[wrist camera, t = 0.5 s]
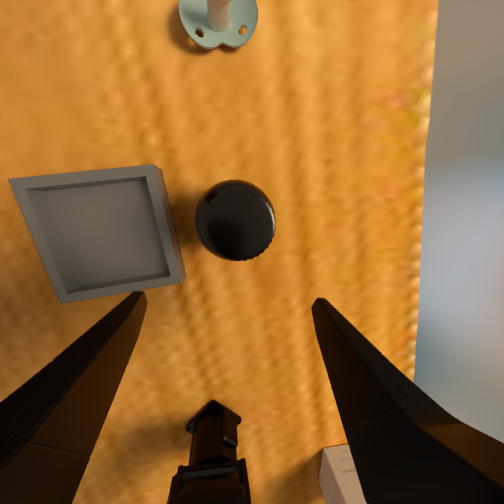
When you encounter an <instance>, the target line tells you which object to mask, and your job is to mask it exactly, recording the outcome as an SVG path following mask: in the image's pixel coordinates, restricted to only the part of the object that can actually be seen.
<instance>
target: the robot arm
mask: <svg viewBox="0 0 504 504" xmlns="http://www.w3.org/2000/svg"><path fill="white" fill-rule="evenodd" d="M146 308H147V299H146V296H145V293H144V292H143V291H134V292H132V293H131V294H130V295H129V296H128V297H126V298H125V299H124V300H123V301H122V302H121V303H119V304H118V305H117V306H116V307H115V308H113V309H112V310H111V311H110V312H109V313H108V314H106V315H105V316H104V317H103V318H102V319H100V320H99V321H98V322H97V323H96V324H95V325H93V326H92V327H91V328H90V329H89V330H88V331H86V332H85V333H84V334H83V335H82V336H80V337H79V338H78V339H77V340H76V341H75V342H73V343H72V344H71V345H70V346H69V347H67V348H66V349H65V350H64V351H63V352H62V353H60V354H59V355H58V356H57V357H56V358H54V359H53V361H52V362H50V363H48V364H47V365H46V366H45V367H44V368H43V369H41V370H40V371H39V372H38V373H37V374H35V375H34V376H33V377H32V378H30V379H29V380H28V381H27V382H26V383H24V384H23V385H22V386H21V387H19V388H18V389H17V390H16V391H14V392H13V393H12V394H10V395H9V396H8V397H7V398H5V399H4V400H3V401H1V402H0V504H72V502H73V499H74V497H75V494H76V492H77V489H78V487H79V484H80V482H81V479H82V477H83V474H84V472H85V469H86V467H87V464H88V462H89V459H90V456H91V454H92V451H93V449H94V447H95V444H96V442H97V439H98V437H99V434H100V432H101V429H102V427H103V424H104V422H105V419H106V417H107V414H108V412H109V409H110V407H111V404H112V402H113V399H114V397H115V394H116V392H117V389H118V387H119V384H120V382H121V379H122V377H123V374H124V372H125V369H126V367H127V364H128V362H129V359H130V357H131V354H132V352H133V349H134V347H135V344H136V342H137V339H138V336H139V333H140V330H141V326H142V322H143V319H144V315H145V311H146ZM312 315H313V321H314V326H315V331H316V336H317V340H318V343H319V347H320V350H321V353H322V357H323V360H324V363H325V367H326V370H327V374H328V377H329V380H330V384H331V387H332V390H333V394H334V397H335V401H336V404H337V407H338V411H339V414H340V417H341V421H342V424H343V428H344V431H345V435H346V438H347V441H348V445H349V448H350V452H351V455H352V458H353V462H354V465H355V468H356V472H357V475H358V479H359V482H360V485H361V489H362V492H363V495H364V498H365V501H366V504H504V443H502V442H500V441H498V440H496V439H494V438H492V437H490V436H488V435H486V434H484V433H482V432H481V431H479V430H476V429H474V428H473V427H470V426H469V425H467V424H465V423H463V422H461V421H460V420H458V419H457V418H455V417H453V416H452V415H451V414H449V413H448V412H447V411H445V410H444V409H443V408H442V407H440V406H439V405H438V404H437V403H436V402H435V401H434V400H432V399H431V398H430V397H429V396H428V395H427V394H426V393H424V392H423V391H422V390H421V389H420V388H419V387H418V386H416V385H415V384H414V383H413V382H412V381H411V380H410V379H408V378H407V377H406V376H405V375H404V374H403V373H402V372H401V371H400V370H398V369H397V368H396V367H395V366H394V365H393V364H392V363H391V362H390V361H389V360H388V359H387V358H386V357H385V356H384V355H382V353H381V352H380V351H379V350H378V349H377V348H376V347H375V346H373V345H372V344H371V343H370V342H369V341H368V340H367V339H366V338H365V337H364V336H363V335H362V334H361V333H360V332H359V331H358V330H357V329H356V328H355V327H354V326H353V325H352V324H351V323H350V322H349V321H348V320H347V319H346V318H345V317H344V316H343V315H342V314H341V313H340V312H339V311H338V310H337V309H335V308H334V307H333V306H332V305H331V304H330V303H329V302H328V301H327V300H326V299H325V298H317V299H316V300H315V302H314V304H313V305H312ZM240 423H241V417H240V416H238V415H237V414H235V413H234V412H232V411H231V410H229V409H227V408H226V407H224V406H223V405H221V404H220V403H218V402H217V401H211V402H210V403H209V404H208V405H207V406H206V407H205V408H204V409H203V410H202V411H201V412H200V413H199V414H197V415H196V416H195V417H194V418H193V419H192V420H191V421H190V422H189V423H188V424H187V425H186V428H185V430H186V431H187V432H189V433H191V434H193V436H192V444H191V451H190V458H189V465H188V466H183V465H180V466H178V471H177V474H175V476H173V477H172V482H171V487H170V492H169V497H168V501H167V504H251V496H250V489H249V482H248V475H247V468H246V461H245V458H241V460H237V453H236V447H237V446H238V440H237V426H238V425H239V424H240Z"/></svg>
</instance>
